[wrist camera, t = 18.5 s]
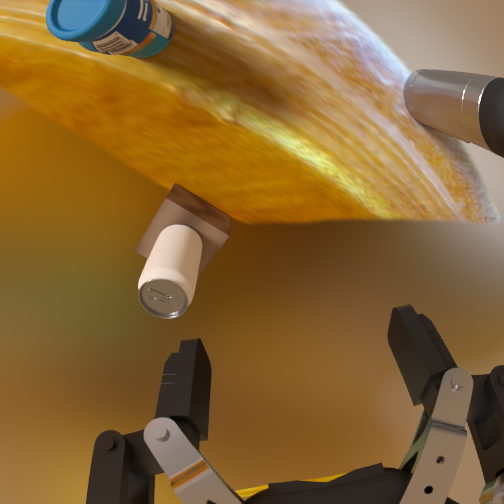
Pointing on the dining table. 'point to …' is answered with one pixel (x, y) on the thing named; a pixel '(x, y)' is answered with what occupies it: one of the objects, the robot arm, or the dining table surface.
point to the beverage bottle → (112, 25)
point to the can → (171, 272)
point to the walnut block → (189, 223)
